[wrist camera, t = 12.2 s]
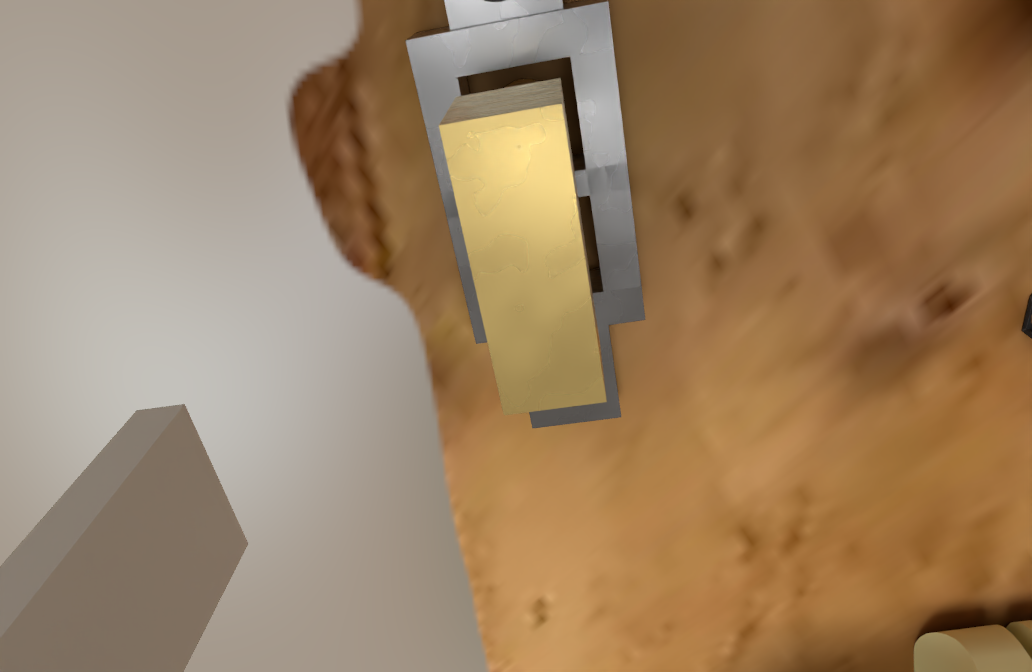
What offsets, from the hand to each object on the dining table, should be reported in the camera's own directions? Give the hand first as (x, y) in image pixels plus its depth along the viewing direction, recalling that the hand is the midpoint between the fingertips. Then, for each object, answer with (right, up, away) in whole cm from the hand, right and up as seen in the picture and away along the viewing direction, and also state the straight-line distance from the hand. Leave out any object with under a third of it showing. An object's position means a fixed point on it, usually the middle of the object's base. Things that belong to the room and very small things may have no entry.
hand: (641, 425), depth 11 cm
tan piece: (-1, +8, +20) cm, 21 cm away
